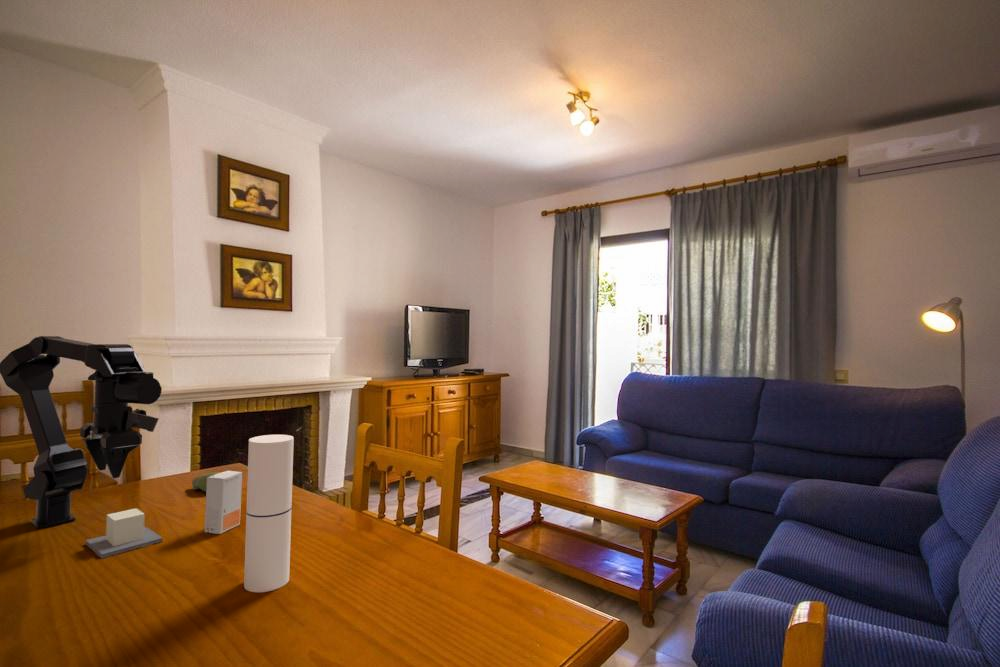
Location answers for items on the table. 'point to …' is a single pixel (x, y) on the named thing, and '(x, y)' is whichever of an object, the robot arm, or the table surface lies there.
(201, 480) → the pear
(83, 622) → the table surface
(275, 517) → the cylindrical container
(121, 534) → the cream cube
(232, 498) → the skincare box
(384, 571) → the table surface
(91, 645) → the table surface
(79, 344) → the robot arm
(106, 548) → the mat
